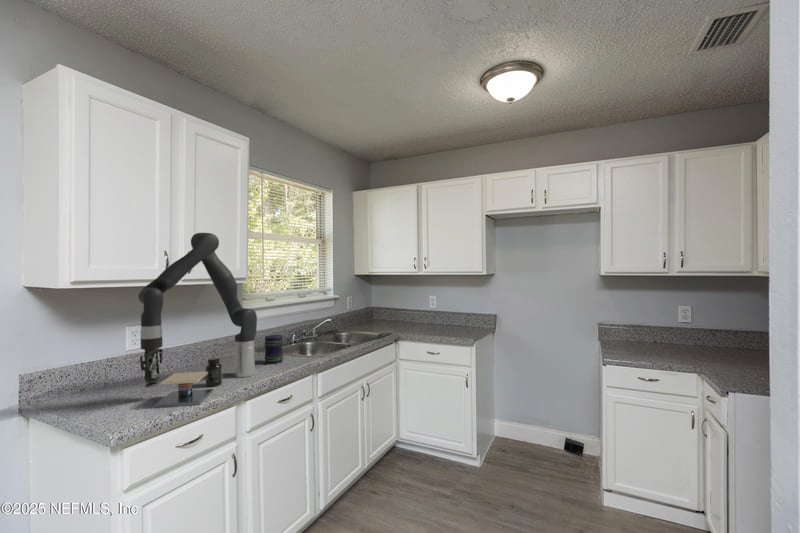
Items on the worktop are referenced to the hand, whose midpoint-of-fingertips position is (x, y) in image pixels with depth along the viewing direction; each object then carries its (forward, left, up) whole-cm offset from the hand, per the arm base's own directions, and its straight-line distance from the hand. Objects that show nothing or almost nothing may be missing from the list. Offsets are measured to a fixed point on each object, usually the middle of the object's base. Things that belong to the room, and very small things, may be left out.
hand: (152, 377), depth 155 cm
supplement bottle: (-16, +19, -9) cm, 26 cm away
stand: (+3, +14, -9) cm, 17 cm away
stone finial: (0, 0, -3) cm, 3 cm away
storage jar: (-55, +39, -9) cm, 68 cm away
